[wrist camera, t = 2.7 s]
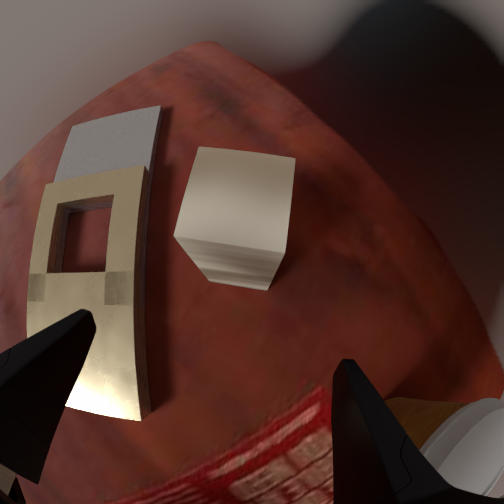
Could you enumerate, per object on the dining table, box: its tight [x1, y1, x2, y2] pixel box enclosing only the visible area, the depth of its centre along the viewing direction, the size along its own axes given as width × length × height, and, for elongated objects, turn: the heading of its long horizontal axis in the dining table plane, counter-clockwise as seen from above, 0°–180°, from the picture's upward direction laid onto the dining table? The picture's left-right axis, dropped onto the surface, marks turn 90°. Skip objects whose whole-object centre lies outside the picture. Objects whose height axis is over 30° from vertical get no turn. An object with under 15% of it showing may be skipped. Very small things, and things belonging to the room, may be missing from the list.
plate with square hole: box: [27, 106, 163, 421], centre depth 21 cm, size 30×12×2 cm, turn 3°
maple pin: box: [174, 147, 295, 290], centre depth 17 cm, size 5×5×11 cm
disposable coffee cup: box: [384, 397, 504, 496], centre depth 12 cm, size 10×10×12 cm
